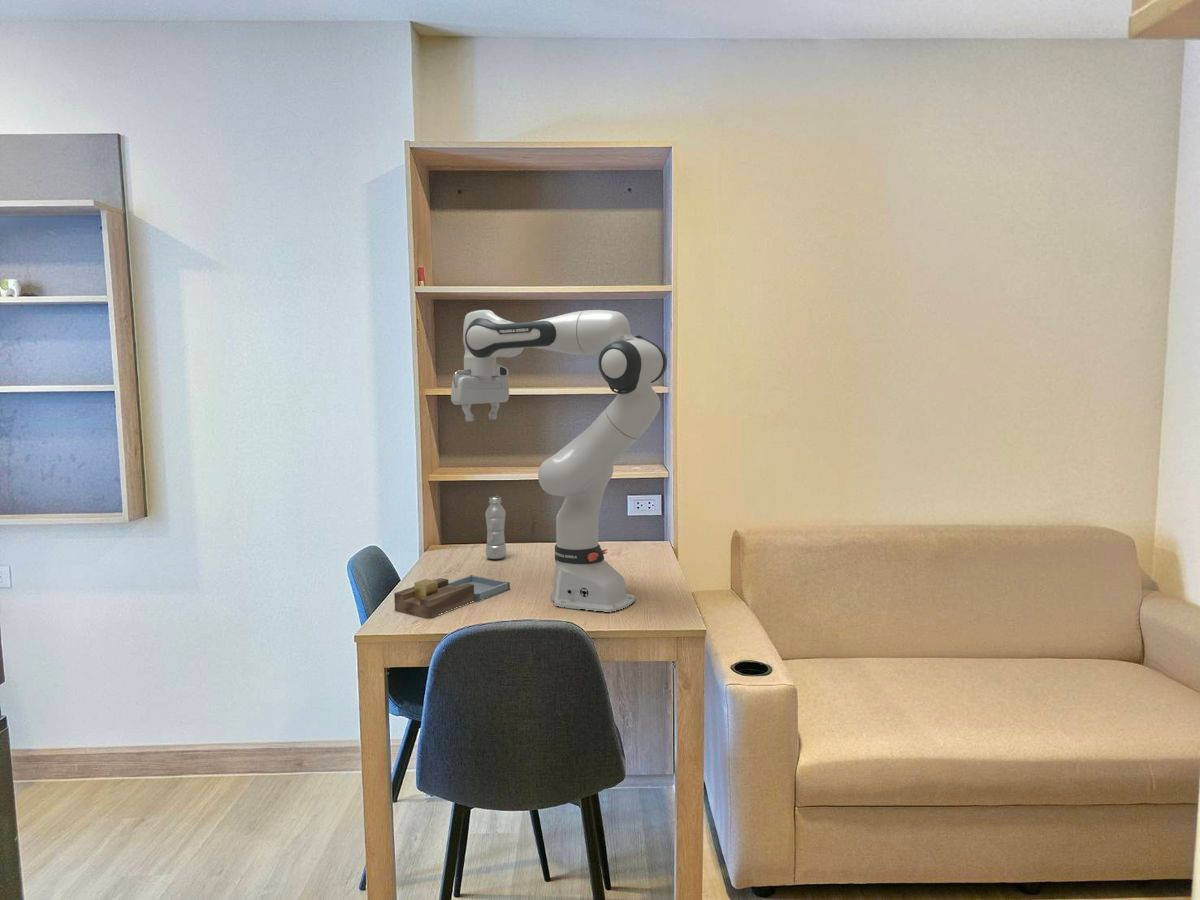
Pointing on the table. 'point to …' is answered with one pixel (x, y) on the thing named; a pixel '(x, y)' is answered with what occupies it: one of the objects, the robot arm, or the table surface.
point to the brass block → (425, 588)
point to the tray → (483, 586)
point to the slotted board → (434, 599)
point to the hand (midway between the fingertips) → (481, 420)
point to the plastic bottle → (495, 529)
